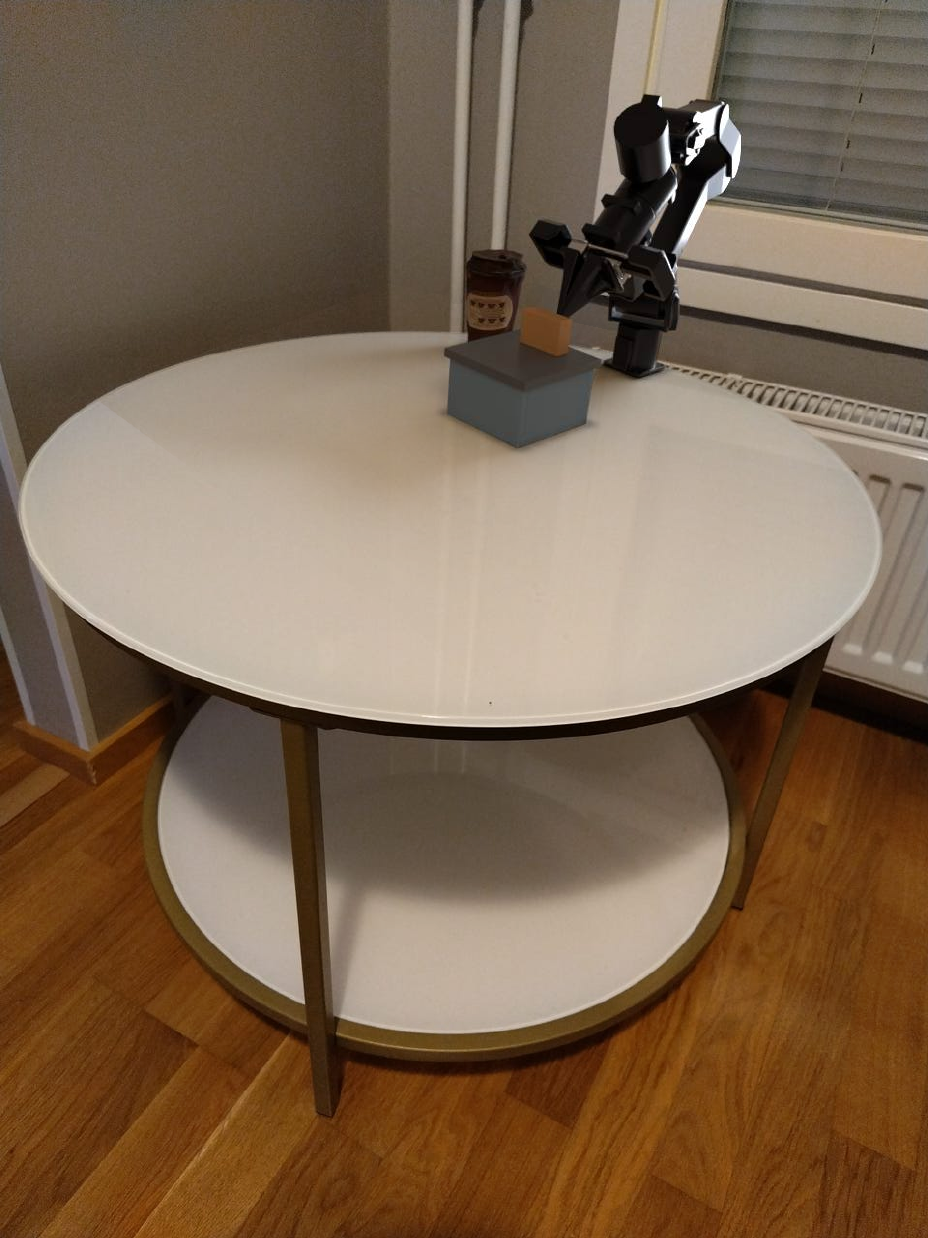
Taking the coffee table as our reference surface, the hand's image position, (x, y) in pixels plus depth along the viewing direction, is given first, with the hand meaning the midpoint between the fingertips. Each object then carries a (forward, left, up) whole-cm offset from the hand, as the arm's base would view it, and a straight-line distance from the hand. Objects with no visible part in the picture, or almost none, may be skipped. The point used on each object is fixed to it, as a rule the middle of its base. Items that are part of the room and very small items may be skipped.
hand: (560, 317), depth 101 cm
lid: (+6, 0, -4) cm, 7 cm away
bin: (+6, 0, -11) cm, 13 cm away
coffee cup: (-9, -20, -11) cm, 25 cm away
